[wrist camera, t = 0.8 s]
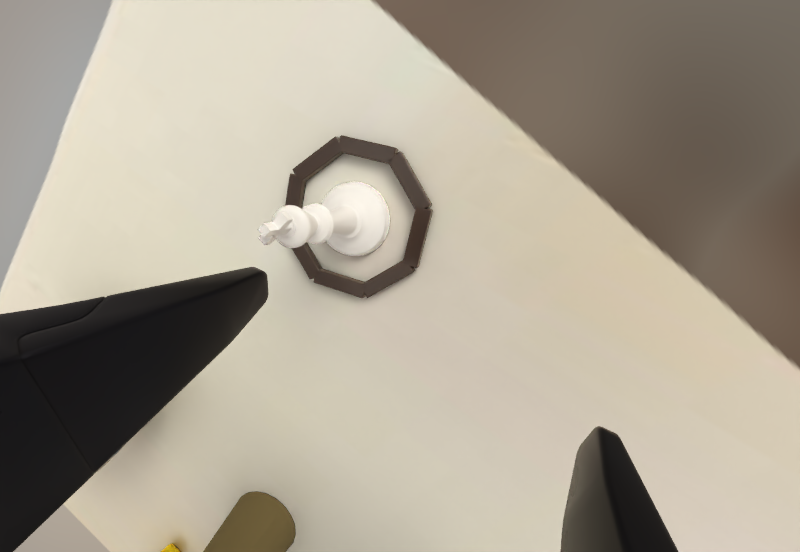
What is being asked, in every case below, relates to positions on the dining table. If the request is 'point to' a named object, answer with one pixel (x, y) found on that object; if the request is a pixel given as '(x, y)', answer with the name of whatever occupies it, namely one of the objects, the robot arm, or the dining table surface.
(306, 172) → the spot ring
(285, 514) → the cork
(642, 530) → the robot arm
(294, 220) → the chess piece
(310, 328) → the dining table surface
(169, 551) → the watch
